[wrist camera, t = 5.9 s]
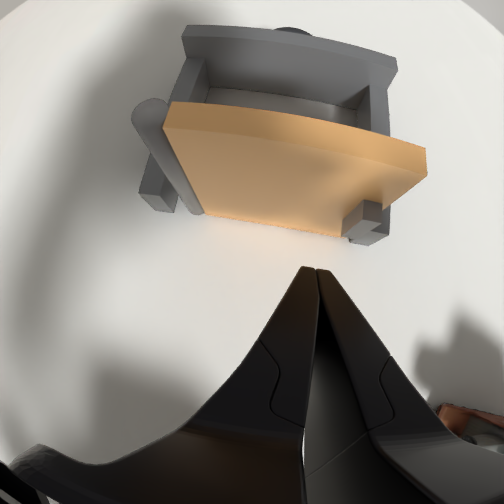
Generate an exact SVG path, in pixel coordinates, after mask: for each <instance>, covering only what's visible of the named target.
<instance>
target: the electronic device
mask: <svg viewBox="0 0 504 504" xmlns="http://www.w3.org/2000/svg"><path fill="white" fill-rule="evenodd" d="M436 414H437V416H438V417H439V418H440V419H441V421H442V422H443V423H444V424H445V426H446V427H447V428H448V429H449V430H450V431H451V432H452V433H453V434H454V435H456V436H457V437H458V438H460V439H462V440H464V441H466V442H469V443H471V444H474V445H477V446H480V447H483V448H485V449H488V450H491V451H494V452H497V453H500V454H504V417H503V416H498V415H494V414H491V413H486V412H483V411H478V410H476V409H468V408H465V407H458V406H454V405H453V404H447V403H443V404H441V405H440V406H439V408H438V410H437V413H436Z"/></svg>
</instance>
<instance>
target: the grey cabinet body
mask: <svg viewBox="0 0 504 504" xmlns="http://www.w3.org/2000/svg"><path fill="white" fill-rule="evenodd" d="M181 38H182V42H183V46H184V49H185V53H186V57H187V58H186V60H185V63H184V65H183V67H182V70H181V72H180V74H179V77H178V79H177V82H176V84H175V86H174V89H173V91H172V94H171V96H170V99H169V102H168V104H167V106H168V108H170V105H171V103H172V101H173V102H192V103H205V100H206V97H207V94H208V91H209V88H210V87H222V88H233V89H243V90H251V91H259V92H267V93H274V94H280V95H287V96H293V97H298V98H304V99H309V100H314V101H319V102H324V103H329V104H333V105H338V106H342V107H346V108H350V109H354V110H357V128H359V129H363V130H367V131H371V132H374V133H378V134H382V135H385V136H389V137H390V122H389V107H388V95H387V89H388V87H389V85H390V84H391V82H392V80H393V78H394V77H395V75H396V73H397V72H398V67H397V61H396V58H395V57H392V56H389V55H385V54H382V53H379V52H376V51H372V50H369V49H365V48H362V47H358V46H354V45H351V44H347V43H343V42H338V41H334V40H329V39H325V38H320V37H315V36H312V35H311V34H309V33H307V32H306V31H303V30H301V29H297V28H291V27H283V28H277V29H274V30H270V29H261V28H251V27H238V26H218V25H187V26H186V28H185V30H184V32H183V34H182V36H181ZM138 193H139V194H140V195H141V197H142V198H143V199H144V200H145V201H146V202H147V203H148V204H149V205H150V206H151V207H152V208H153V209H154V210H156V211H163V212H170V213H174V211H175V206H176V202H177V198H178V193H177V192H176V190H175V189H174V187H173V186H172V184H171V183H170V181H169V180H168V178H167V177H166V175H165V174H164V172H163V171H162V169H161V167H160V166H159V164H158V163H157V161H156V160H155V158H154V157H153V155H152V154H151V153H150V156H149V159H148V162H147V165H146V169H145V172H144V175H143V179H142V182H141V185H140V189H139V192H138ZM390 206H391V204H390V205H389V206H388V207H386V208H385V209H384V210H383V211H382V224H380V225H378V226H377V227H375V228H374V229H372V230H371V231H369V232H368V233H366V234H365V235H363V236H362V237H360V238H359V239H357V240H356V239H350V243H355V244H361V245H366V246H369V245H371V244H373V243H375V242H377V241H379V240H381V239H382V238H384V237H386V236H388V235H389V229H390Z"/></svg>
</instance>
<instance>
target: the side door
mask: <svg viewBox="0 0 504 504" xmlns="http://www.w3.org/2000/svg"><path fill="white" fill-rule="evenodd" d="M131 121H132V124H133V125H134V127H135V128H136V130H137V132H138V133H139V135H140V136H141V138H142V139H143V141H144V143H145V144H146V146H147V147H148V149H149V150H150V152H151V154H152V155H153V157H154V158H155V160H156V161H157V163H158V164H159V166H160V167H161V169H162V171H163V172H164V174H165V175H166V177H167V178H168V180H169V181H170V183H171V184H172V186H173V187H174V189H175V190H176V192H177V193H178V195H179V196H180V198H181V199H182V201H183V202H184V204H185V205H186V207H187V208H188V210H189V211H190V212H191V213H192V214H194V215H201V214H203V213H204V212H205V214H206V215H210V216H217V217H223V218H229V219H236V220H242V221H248V222H254V223H260V224H266V225H272V226H278V227H284V228H289V229H295V230H301V231H307V232H312V233H318V234H323V235H329V236H334V237H340V238H350V239H356V240H357V239H359V238H360V237H362V236H363V235H365V234H366V233H368V232H369V231H371V230H372V229H374V228H375V227H377V226H378V225H380V224H382V211H383V210H384V209H385V208H386V207H388V206H389V205H390V204H392V203H393V202H394V201H396V200H397V199H398V198H399V197H401V196H402V195H403V194H405V193H406V192H407V191H408V190H410V189H411V188H412V187H414V186H415V185H416V184H417V183H419V182H420V181H421V180H422V179H424V178H425V177H426V176H427V164H426V151H425V148H424V147H421V146H418V145H415V144H412V143H408V142H405V141H402V140H399V139H395V138H392V137H389V136H385V135H382V134H378V133H374V132H371V131H367V130H363V129H359V128H355V127H351V126H347V125H342V124H338V123H334V122H329V121H324V120H320V119H315V118H310V117H304V116H299V115H293V114H287V113H281V112H275V111H268V110H261V109H254V108H246V107H238V106H228V105H218V104H206V103H192V102H173V101H172V103H171V105H170V108H168V106H167V104H166V103H165V102H164V101H163V100H161V99H149V100H146V101H144V102H142V103H140V104H139V105H138V106H137V107H136V108H135V109H134V111H133V113H132V117H131Z"/></svg>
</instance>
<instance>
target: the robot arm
mask: <svg viewBox="0 0 504 504" xmlns="http://www.w3.org/2000/svg"><path fill="white" fill-rule="evenodd" d="M303 435H304V465H303V455H302V445H303ZM46 496H48V497H50V498H51V499H53V500H55V501H57V502H59V504H504V454H500V453H497V452H494V451H491V450H488V449H485V448H483V447H480V446H477V445H474V444H471V443H469V442H466V441H464V440H462V439H460V438H458V437H457V436H456V435H454V434H453V433H452V432H451V431H450V430H449V429H448V428H447V427H446V426H445V424H444V423H443V422H442V421H441V419H440V418H439V417H438V416H437V414H436V413H435V412H434V411H433V409H432V408H431V407H430V406H429V404H428V403H427V402H426V401H425V400H424V398H423V397H422V396H421V395H420V393H419V392H418V391H417V390H416V388H415V387H414V386H413V385H412V383H411V382H410V381H409V379H408V378H407V377H406V375H405V374H404V372H403V371H402V370H401V368H400V367H399V365H398V364H397V363H396V361H395V360H394V358H393V357H392V356H390V353H389V351H388V350H387V348H386V347H385V345H384V344H383V343H382V341H381V340H380V338H379V337H378V335H377V334H376V333H375V331H374V330H373V328H372V327H371V326H370V324H369V323H368V321H367V320H366V319H365V317H364V316H363V314H362V313H361V312H360V310H359V309H358V308H357V306H356V305H355V304H354V302H353V301H352V299H351V298H350V297H349V295H348V294H347V293H346V291H345V290H344V289H343V287H342V286H341V285H340V283H339V282H338V281H337V279H336V278H335V277H334V275H333V274H332V273H331V272H330V271H329V270H323V269H316V270H315V269H314V268H311V267H305V266H301V267H300V269H299V271H298V272H297V274H296V276H295V277H294V279H293V281H292V283H291V284H290V286H289V288H288V289H287V291H286V293H285V294H284V296H283V298H282V299H281V301H280V303H279V304H278V306H277V308H276V309H275V311H274V313H273V314H272V316H271V318H270V319H269V321H268V322H267V324H266V326H265V327H264V329H263V331H262V332H261V334H260V335H259V337H258V339H257V340H256V341H255V343H254V345H253V346H252V348H251V349H250V351H249V352H248V354H247V355H246V357H245V358H244V359H243V361H242V362H241V364H240V365H239V366H238V367H237V369H236V370H235V371H234V372H233V373H232V375H231V376H230V377H229V378H228V379H227V380H226V381H225V383H224V384H223V385H222V386H221V387H220V388H219V389H218V390H217V391H216V392H215V393H214V394H213V395H212V396H211V397H210V399H209V400H208V401H207V402H206V403H205V404H204V405H203V406H202V407H201V408H200V409H199V410H198V411H197V412H196V413H195V414H194V415H193V416H192V417H191V418H190V419H189V420H187V421H186V422H185V423H184V424H183V425H181V426H180V427H179V428H177V429H176V430H174V431H173V432H171V433H169V434H167V435H165V436H163V437H161V438H160V439H158V440H156V441H154V442H152V443H150V444H148V445H146V446H144V447H142V448H140V449H138V450H136V451H134V452H132V453H130V454H128V455H126V456H124V457H121V458H119V459H117V460H115V461H112V462H109V463H105V464H86V463H83V462H79V461H77V460H75V459H72V458H70V457H68V456H66V455H64V454H62V453H60V452H58V451H56V450H54V449H52V448H50V447H48V446H45V445H43V444H37V445H36V446H34V447H32V448H31V449H29V450H27V451H25V452H24V453H22V454H21V455H19V456H18V457H17V458H15V459H14V460H13V461H12V463H11V464H10V465H9V466H8V465H6V464H5V463H3V462H2V461H1V460H0V504H50V503H49V501H48V499H47V497H46Z"/></svg>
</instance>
